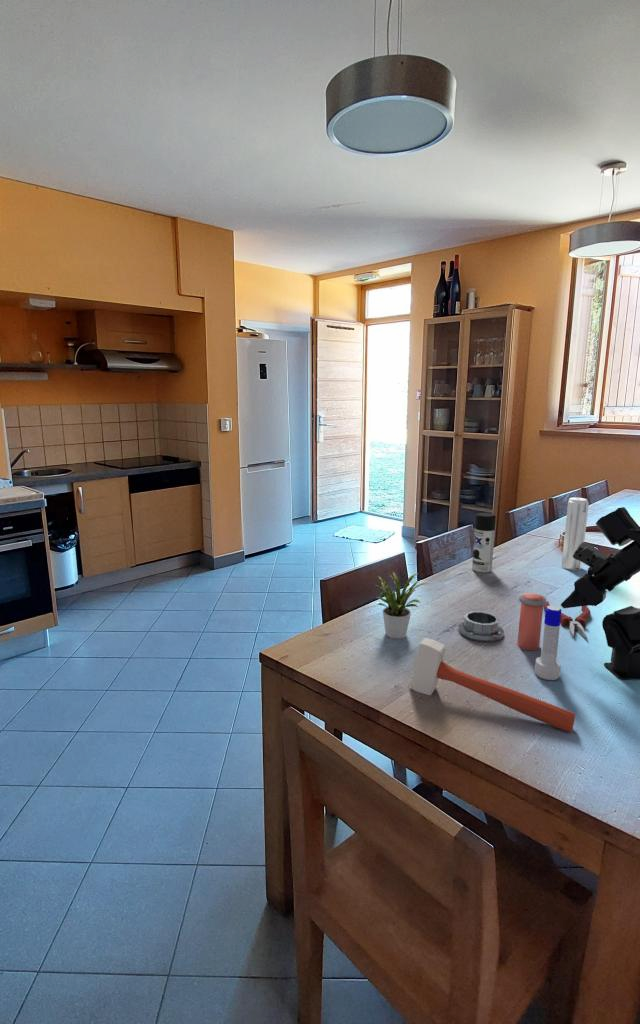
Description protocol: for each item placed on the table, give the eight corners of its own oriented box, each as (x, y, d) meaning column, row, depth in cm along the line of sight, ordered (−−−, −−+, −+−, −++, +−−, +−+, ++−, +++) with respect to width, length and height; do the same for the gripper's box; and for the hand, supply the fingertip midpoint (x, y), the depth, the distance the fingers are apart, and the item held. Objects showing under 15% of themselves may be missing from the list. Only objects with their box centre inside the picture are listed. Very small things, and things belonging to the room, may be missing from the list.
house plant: (431, 626, 141) (434, 567, 138) (427, 649, 128) (430, 585, 125) (377, 620, 145) (379, 562, 141) (368, 642, 132) (370, 579, 128)
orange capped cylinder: (545, 650, 128) (550, 601, 125) (521, 651, 127) (525, 602, 125) (534, 639, 133) (539, 592, 131) (511, 640, 133) (515, 592, 131)
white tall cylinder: (562, 569, 188) (569, 499, 183) (560, 563, 194) (567, 496, 189) (582, 571, 186) (590, 500, 181) (579, 565, 192) (587, 497, 187)
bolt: (532, 677, 116) (536, 667, 120) (557, 683, 113) (560, 673, 117) (539, 609, 112) (542, 601, 116) (565, 614, 110) (567, 606, 114)
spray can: (467, 568, 188) (471, 513, 184) (482, 566, 191) (486, 511, 187) (480, 574, 182) (484, 517, 178) (496, 571, 185) (500, 515, 181)
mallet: (581, 696, 97) (423, 635, 111) (580, 706, 94) (417, 642, 108) (566, 745, 100) (414, 680, 114) (563, 756, 97) (408, 687, 111)
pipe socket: (510, 641, 132) (511, 626, 131) (465, 642, 132) (466, 627, 131) (494, 622, 143) (495, 609, 142) (453, 623, 143) (453, 609, 142)
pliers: (553, 639, 135) (554, 629, 134) (541, 608, 155) (542, 599, 154) (605, 644, 132) (607, 634, 131) (586, 612, 152) (587, 603, 151)
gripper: (608, 525, 124) (554, 563, 133) (589, 541, 109) (531, 582, 118) (643, 564, 121) (586, 600, 129) (629, 585, 106) (566, 624, 115)
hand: (567, 600), depth 123 cm, fingers open, 9 cm apart
